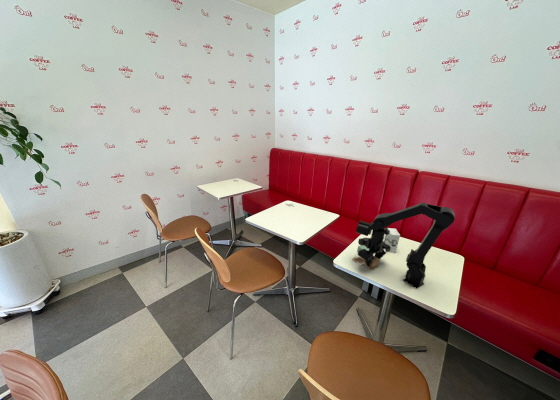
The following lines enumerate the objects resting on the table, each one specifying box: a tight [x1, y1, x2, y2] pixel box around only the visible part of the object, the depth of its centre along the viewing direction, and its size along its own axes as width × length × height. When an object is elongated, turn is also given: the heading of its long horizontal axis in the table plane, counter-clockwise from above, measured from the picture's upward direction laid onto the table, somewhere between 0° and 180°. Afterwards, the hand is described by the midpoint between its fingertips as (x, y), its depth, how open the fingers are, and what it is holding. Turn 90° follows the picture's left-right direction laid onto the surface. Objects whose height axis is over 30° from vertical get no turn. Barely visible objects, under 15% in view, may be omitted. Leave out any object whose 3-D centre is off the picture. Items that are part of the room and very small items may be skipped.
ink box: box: [383, 227, 401, 253], centre depth 128 cm, size 9×5×12 cm, turn 172°
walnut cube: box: [363, 254, 381, 271], centre depth 113 cm, size 5×5×5 cm
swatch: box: [351, 255, 365, 266], centre depth 118 cm, size 6×6×1 cm
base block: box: [356, 245, 369, 253], centre depth 124 cm, size 6×6×4 cm
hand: (371, 264), depth 114 cm, fingers open, 6 cm apart
